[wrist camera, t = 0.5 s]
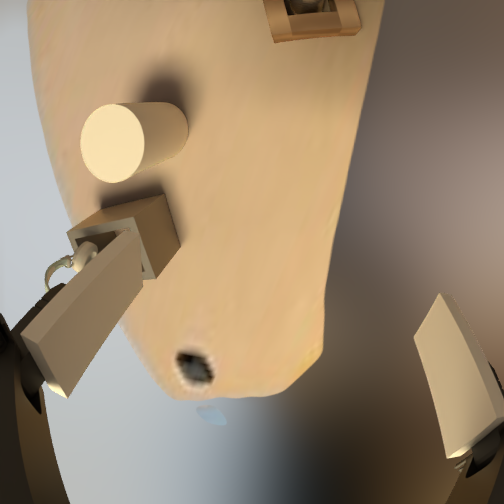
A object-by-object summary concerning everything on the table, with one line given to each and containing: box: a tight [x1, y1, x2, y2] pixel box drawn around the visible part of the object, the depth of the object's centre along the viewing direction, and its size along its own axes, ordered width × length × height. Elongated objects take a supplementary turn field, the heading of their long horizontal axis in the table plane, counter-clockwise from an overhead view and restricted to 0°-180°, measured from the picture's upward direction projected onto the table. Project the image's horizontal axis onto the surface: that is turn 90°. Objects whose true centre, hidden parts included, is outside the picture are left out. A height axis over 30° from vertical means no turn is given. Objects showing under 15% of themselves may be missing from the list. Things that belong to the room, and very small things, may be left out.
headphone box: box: [67, 194, 181, 280], centre depth 39 cm, size 8×12×9 cm
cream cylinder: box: [81, 102, 188, 183], centre depth 30 cm, size 8×8×12 cm
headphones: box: [45, 241, 98, 293], centre depth 34 cm, size 8×4×20 cm, turn 66°
